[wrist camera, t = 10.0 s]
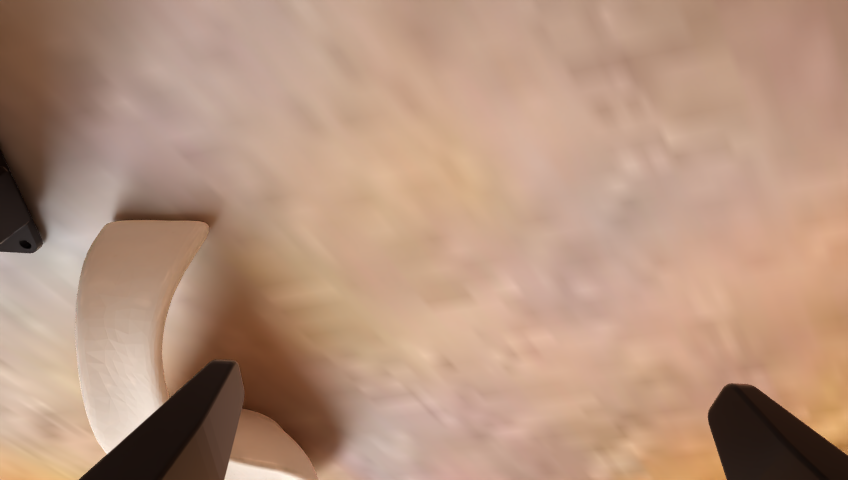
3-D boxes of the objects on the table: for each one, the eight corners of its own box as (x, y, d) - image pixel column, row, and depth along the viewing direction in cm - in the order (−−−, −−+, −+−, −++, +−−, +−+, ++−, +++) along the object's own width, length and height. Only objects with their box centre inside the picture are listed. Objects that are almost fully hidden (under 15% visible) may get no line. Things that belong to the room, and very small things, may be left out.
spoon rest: (338, 483, 35) (321, 596, 29) (183, 484, 35) (134, 598, 29) (280, 211, 22) (227, 319, 16) (30, 215, 22) (-115, 323, 16)
